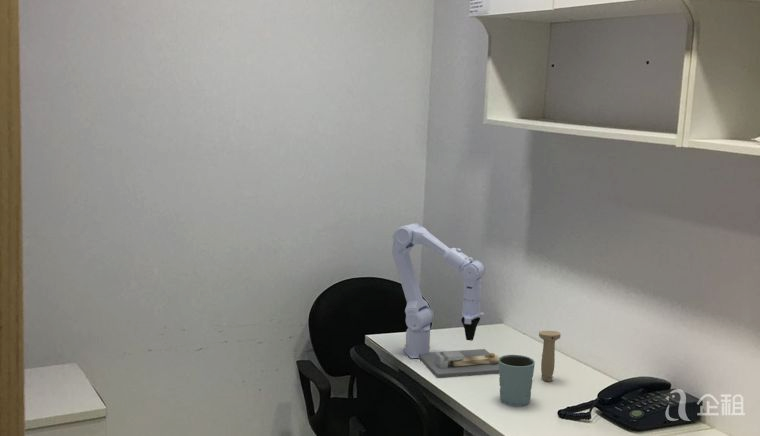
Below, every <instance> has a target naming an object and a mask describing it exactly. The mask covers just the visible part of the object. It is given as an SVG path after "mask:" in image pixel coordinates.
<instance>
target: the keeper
mask: <svg viewBox="0 0 760 436" xmlns="http://www.w3.org/2000/svg"><path fill="white" fill-rule="evenodd" d="M451 351H452V352H444V351H435V352H436V353H435V364H436V365H437V366H438V367H439V368H440V369H443V368H448V361H454V360H464V358H465V356H464V355H463V354H462V353H461V352H459V351H460V350H451Z"/></svg>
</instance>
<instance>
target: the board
mask: <svg viewBox="0 0 760 436" xmlns="http://www.w3.org/2000/svg"><path fill="white" fill-rule="evenodd" d="M452 351H453V350H447V351H443V352H452ZM458 351H459V352H461V353H462V354H463V355H464V356H465V357H474V356H485V355H488V354H490V352H489V351H488V350H487V349H485V348H477V349H465V350H464V349H463V350H458ZM436 352H437V351H433V352H430V351H429V353H427V354H422V355H419V358H418V359H419V360H420V361H421V363H423V365H425V366H426V368H427V369H428V370H429V371H430V372H431V373H432V374H433V376H435V377H436V378H437V379H441V378H456V377H471V376H483V375H499V363H497V364H479V365H467V366H456V367H454V366H452V365H451V364H450V361H448V368H443V369H440V368H439V367H438V366H437V365H436V364H435V353H436Z"/></svg>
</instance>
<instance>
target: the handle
mask: <svg viewBox="0 0 760 436" xmlns="http://www.w3.org/2000/svg"><path fill="white" fill-rule="evenodd" d="M538 336H539V338H540V339H541V340H543V346H542V354H541V364H540V365H541V366H540V367H541V368H540V370H541V371H540V372H541V380H542V381H543V382H552V381H553V378H554V376H553V375H554V373H555V362H556V361H555V360H556V359H555V356H556V355H555V351H556V350H555V349H556V348H555V346H556V345H555V344H556V341H557V340H559V339H561V336H562V335H561V333H560V332H558V331H555V330H541V331H539V333H538Z"/></svg>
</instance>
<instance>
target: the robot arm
mask: <svg viewBox="0 0 760 436" xmlns="http://www.w3.org/2000/svg"><path fill="white" fill-rule="evenodd" d="M392 239H393V242H392V249H391V254H392V258H393V261H394V264H395V268H396V271H397V274H398V278H399V280H400V283H401V287H402V290H403V293H404V297H405V301H406V307H405V309H404V313H405V324H406V327H407V329H406V331H405V347H403V348H402V350H403V352H404V353H405V354H406V355H407V356H408V357H409V358H410V359H419V355H422V354H427V353H429V352H430V346H431V345H430V343H431V323H433V321H434V319H435V318H434V317H435V315H434V312H433V310H432V309H431V307H430V306H429V303H428V302H427V300H425V299H424V298H423V296H422V292H421V289H420V286H419V281H418V278H417V275H416V272H415V268H414V265H413V262H412V258H411V256H410V253H411V251H412V249H413V248H414V246H415V245H424V246H426V247H427V248H429V249H430V250H432V251H433V252H436V253H437V254H439V256H441V257H443V261H444V263H445V264H446V265H448V266H450V267H451V268H452V269H454V270H455V271H457V272H458V273H459V274H461V277H462V279H463V288H462V289H463V290H462V291H463V292H462V311H461V315H462V318H461V323H462V325H463V328H464V333H465V334H464V335H465V340H466V341H471V342H472V341H474V338H475V335H476V330H477V327H478V324H479V322H480V320H481V317H484V315H485V313H484V312H482V311H481V306H482V302H481V301H482V284H483V280H482V279H483V277H484V275H485V273H486V267H485V265H484V263H482V262H481V261H480V260H477V259H476V260H474V258H473V257H469V255H466V254H465V253H464V252H462V248H460V247H458V248H456V247H451V248H450V247H449V246H447V245H446V244H445V243H443V242H442V240H441V241H440V239H438V238H437V237H436V236H434V235H433V234H432V233H431V232H430V231H428V229H427V228H425V227H424V226H421V225H420V224H419V223H416V222H412V223H410V224H406V225H401V226H398V227H397V228H396V229H395V231H394V232H393V234H392Z"/></svg>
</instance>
